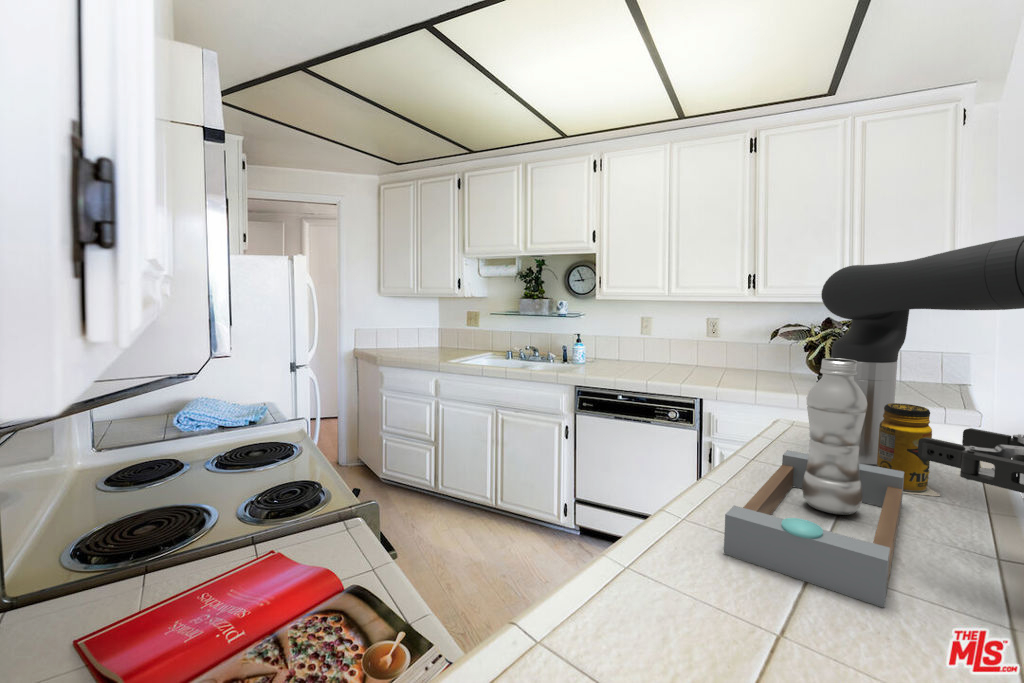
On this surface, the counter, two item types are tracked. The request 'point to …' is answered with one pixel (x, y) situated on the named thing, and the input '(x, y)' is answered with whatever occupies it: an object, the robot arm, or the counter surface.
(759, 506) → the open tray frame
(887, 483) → the grey beam
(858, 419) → the plastic bottle
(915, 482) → the condiment
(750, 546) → the grey end board
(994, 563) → the counter surface
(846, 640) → the counter surface
